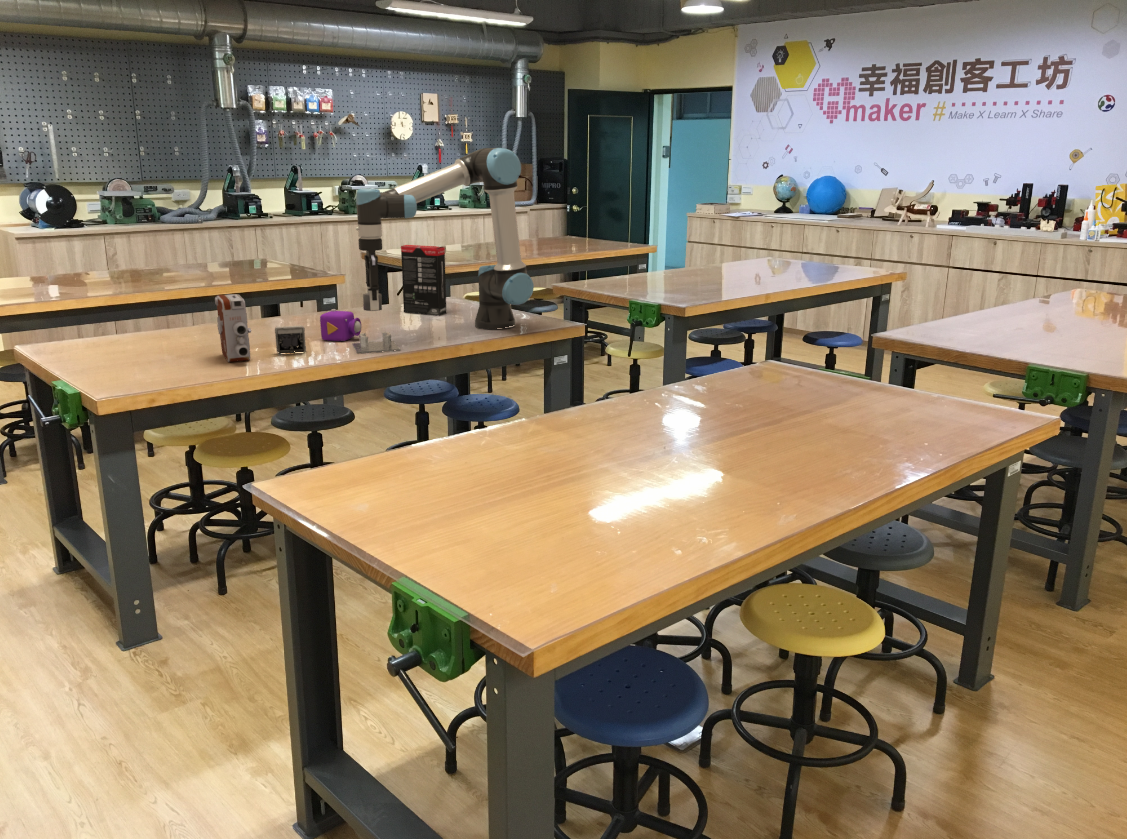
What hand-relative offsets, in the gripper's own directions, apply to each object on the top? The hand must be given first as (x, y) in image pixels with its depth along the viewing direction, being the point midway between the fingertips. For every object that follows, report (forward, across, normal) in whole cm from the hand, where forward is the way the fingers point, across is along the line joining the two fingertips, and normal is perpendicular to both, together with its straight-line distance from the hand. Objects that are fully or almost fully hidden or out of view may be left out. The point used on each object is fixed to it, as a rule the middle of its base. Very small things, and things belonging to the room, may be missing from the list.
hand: (373, 308), depth 300 cm
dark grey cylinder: (0, 0, 0) cm, 0 cm away
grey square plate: (+13, 0, 0) cm, 13 cm away
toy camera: (+14, -18, -9) cm, 24 cm away
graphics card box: (+13, -60, +28) cm, 67 cm away
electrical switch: (+14, 0, -27) cm, 30 cm away
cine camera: (+14, +5, -44) cm, 46 cm away
